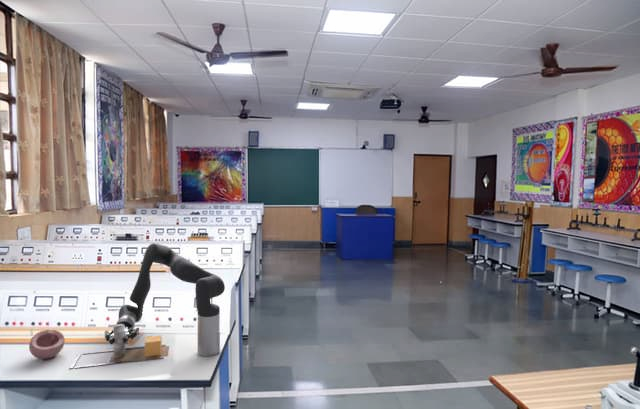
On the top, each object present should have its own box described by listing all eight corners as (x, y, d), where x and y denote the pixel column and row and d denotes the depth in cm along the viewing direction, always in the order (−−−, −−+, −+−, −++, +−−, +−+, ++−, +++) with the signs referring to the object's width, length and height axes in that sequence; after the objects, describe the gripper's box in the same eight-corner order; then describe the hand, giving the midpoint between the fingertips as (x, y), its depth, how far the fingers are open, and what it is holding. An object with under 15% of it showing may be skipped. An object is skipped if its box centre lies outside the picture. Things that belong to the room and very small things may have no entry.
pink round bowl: (35, 367, 153) (34, 339, 152) (25, 358, 160) (24, 331, 159) (69, 356, 162) (69, 330, 162) (58, 348, 170) (57, 323, 169)
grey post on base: (169, 348, 171) (169, 317, 170) (167, 358, 162) (167, 325, 161) (113, 354, 165) (113, 322, 164) (108, 365, 155) (108, 331, 154)
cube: (161, 348, 168) (161, 335, 168) (160, 354, 163) (160, 340, 162) (146, 350, 167) (146, 336, 166) (144, 356, 161) (144, 342, 161)
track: (165, 348, 173) (165, 344, 173) (163, 362, 160) (163, 357, 160) (78, 357, 162) (78, 353, 162) (69, 373, 149) (69, 368, 149)
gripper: (107, 319, 171) (98, 334, 155) (142, 316, 176) (137, 330, 159) (107, 335, 172) (98, 352, 155) (142, 332, 176) (137, 348, 160)
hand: (118, 341), depth 158 cm, fingers closed on grey post on base, 4 cm apart
